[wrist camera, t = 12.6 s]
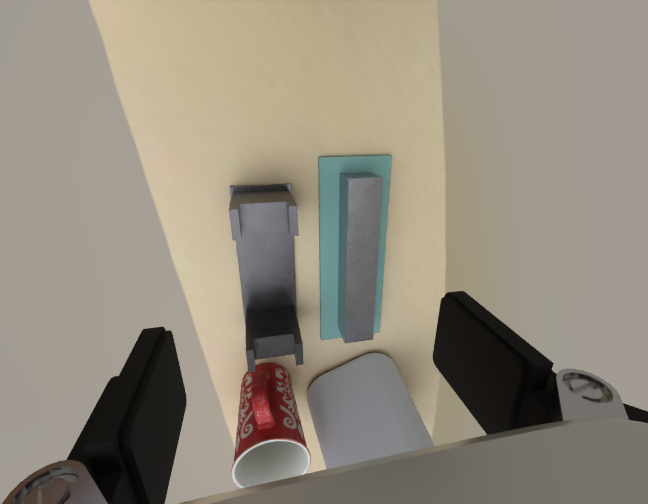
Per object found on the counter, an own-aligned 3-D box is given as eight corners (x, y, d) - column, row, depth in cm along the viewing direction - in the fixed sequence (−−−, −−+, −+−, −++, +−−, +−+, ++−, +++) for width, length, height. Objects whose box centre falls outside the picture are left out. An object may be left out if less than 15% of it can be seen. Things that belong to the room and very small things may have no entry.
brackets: (229, 186, 38) (224, 204, 30) (290, 183, 39) (300, 200, 31) (246, 330, 45) (245, 376, 37) (296, 323, 47) (306, 367, 38)
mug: (298, 398, 52) (313, 483, 40) (240, 410, 50) (237, 502, 38) (291, 333, 47) (306, 407, 35) (227, 343, 46) (219, 426, 33)
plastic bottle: (408, 401, 58) (534, 623, 32) (331, 439, 57) (396, 694, 32) (384, 340, 51) (516, 557, 26) (297, 381, 51) (344, 645, 25)
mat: (318, 157, 39) (319, 157, 38) (389, 154, 40) (391, 155, 40) (320, 337, 48) (321, 340, 48) (377, 330, 50) (379, 332, 50)
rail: (339, 173, 39) (348, 178, 36) (371, 172, 40) (383, 177, 36) (337, 326, 48) (344, 343, 44) (363, 322, 48) (373, 339, 45)
